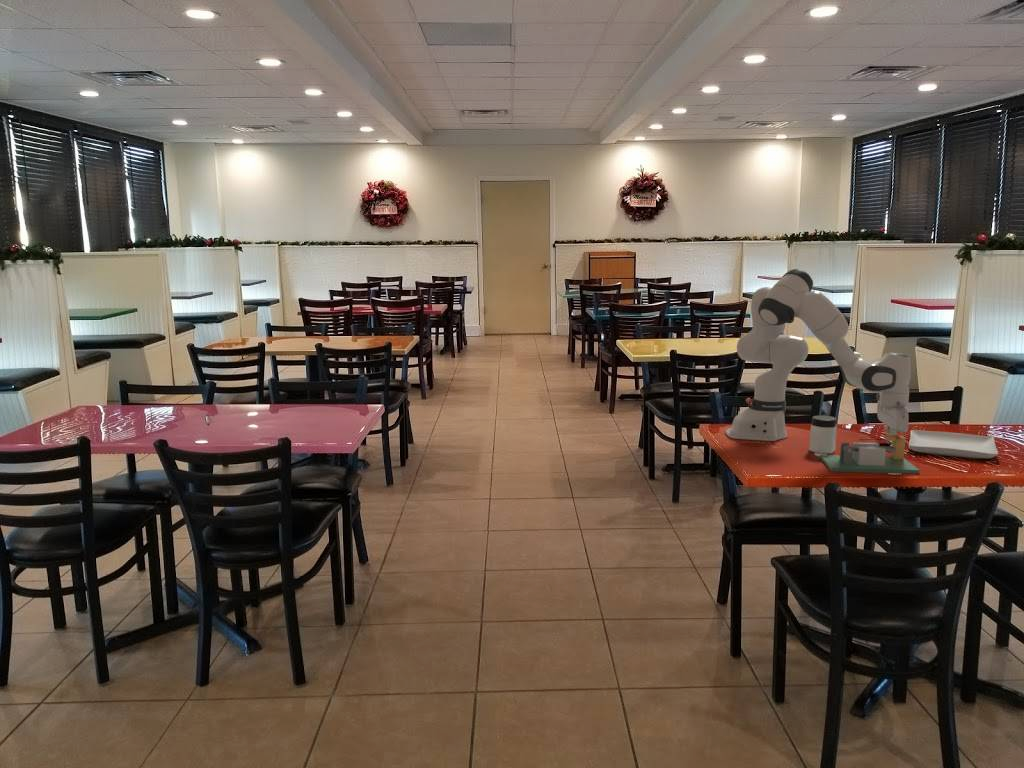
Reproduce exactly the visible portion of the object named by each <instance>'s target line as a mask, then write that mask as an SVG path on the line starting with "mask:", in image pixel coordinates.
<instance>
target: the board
mask: <svg viewBox="0 0 1024 768" xmlns="http://www.w3.org/2000/svg"><path fill="white" fill-rule="evenodd" d="M842 446H845V449H844V450H843V449H842ZM853 446H880V443H879V442H856V441H855V442H854V441H853V442H852V445H850V443H849V442H842V441H841V442H840V449H839V454H819V456H818V458H819V460H820V459H821V460H822V461H823V462H824V463H825V464H826V465H827V466H828V467H829V468H828V467H827V466H826V465H825V464H824V463H823V462H822V461H821V460H820V461H821V462H822V463H823V464H824V465H825V466H826V467H827V468H828V469H829V470H830V472H839V471H840V472H843V473H845V472H846V473H850V472H851V473H878V474H879V473H881V474H910V475H911V474H916V475H918V474H919V475H920V474H921V470H920V469H919V468H917V467H916V466H915V465H914V464H912V463H911V461H908V460H907V459H905V458H904V460H898V459H893V458H892V457H891V456H888V455H887V456H886V453H887V452H886V449H885V448H863V447H859V450H858V451H853Z"/></svg>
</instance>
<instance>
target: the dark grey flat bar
mask: <svg viewBox="0 0 1024 768" xmlns="http://www.w3.org/2000/svg"><path fill="white" fill-rule="evenodd" d="M852 446H853V445H852ZM859 447H863V448H885V449H886V453H887V452H888V453H889V452H890V453H891V452H896V449H895V448H894V447H891V446H887V445H886V446H884V445H883V446H881V445H879V446H853V451H858V450H859ZM842 449H843V450H844V449H845V446H842Z"/></svg>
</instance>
